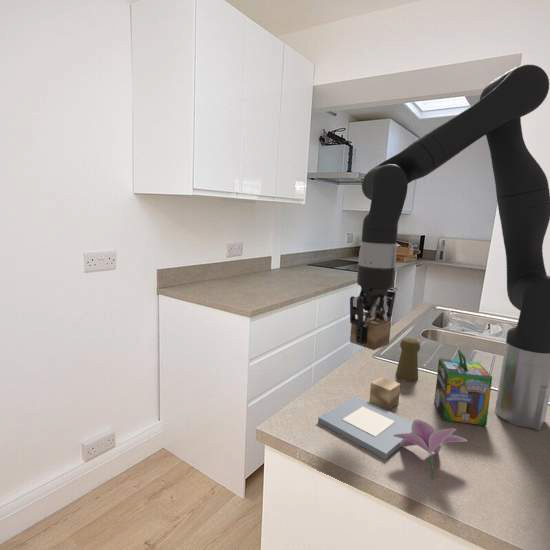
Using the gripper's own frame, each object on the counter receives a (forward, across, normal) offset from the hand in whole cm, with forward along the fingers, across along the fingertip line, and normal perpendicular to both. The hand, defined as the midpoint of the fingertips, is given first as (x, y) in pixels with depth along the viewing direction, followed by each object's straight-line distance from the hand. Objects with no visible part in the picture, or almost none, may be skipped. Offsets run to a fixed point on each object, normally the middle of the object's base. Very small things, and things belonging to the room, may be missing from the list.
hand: (369, 339), depth 80 cm
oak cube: (+18, +8, 0) cm, 20 cm away
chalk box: (+18, +18, -14) cm, 29 cm away
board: (+18, -3, -4) cm, 18 cm away
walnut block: (+1, 0, 0) cm, 1 cm away
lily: (+18, -5, -17) cm, 25 cm away
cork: (+18, +26, +4) cm, 32 cm away
